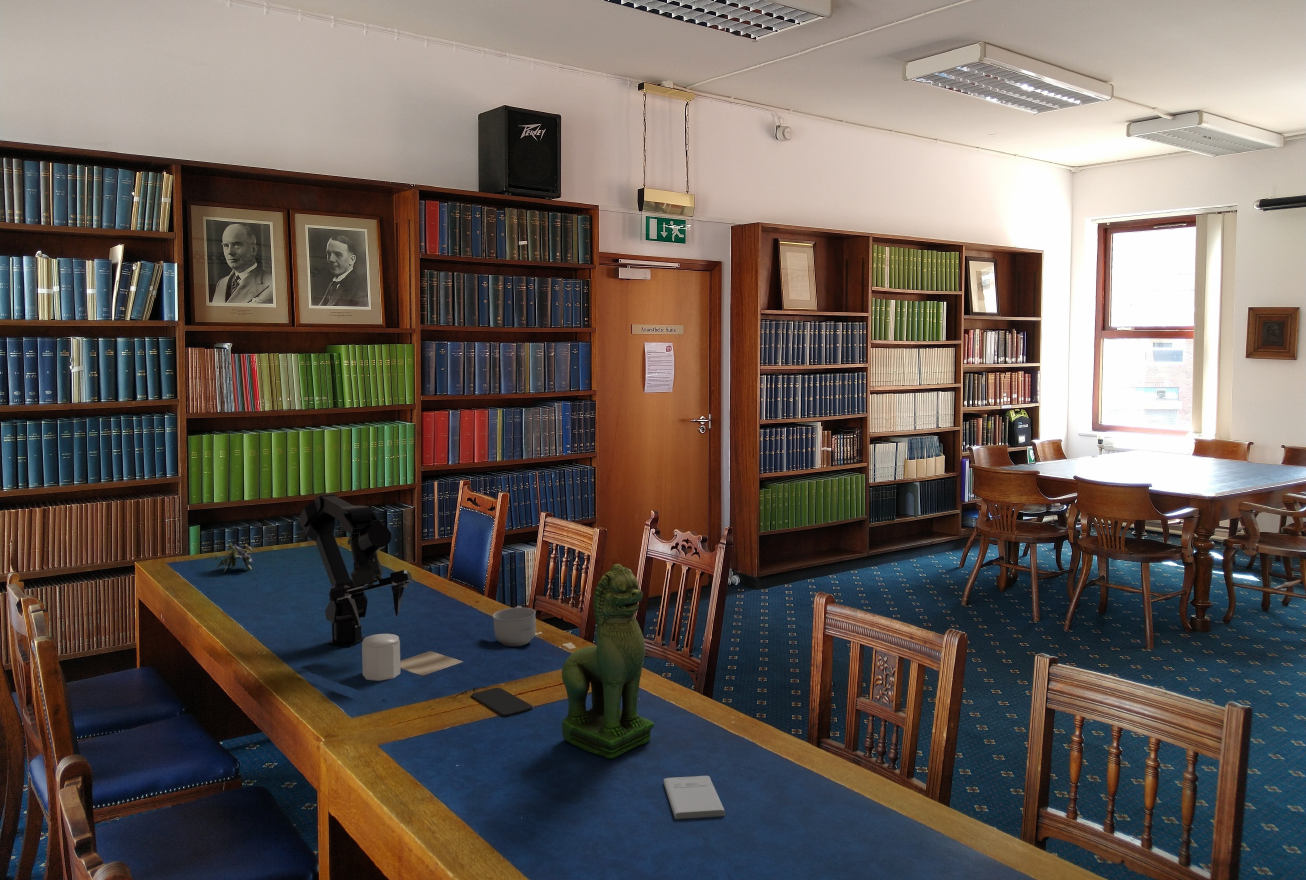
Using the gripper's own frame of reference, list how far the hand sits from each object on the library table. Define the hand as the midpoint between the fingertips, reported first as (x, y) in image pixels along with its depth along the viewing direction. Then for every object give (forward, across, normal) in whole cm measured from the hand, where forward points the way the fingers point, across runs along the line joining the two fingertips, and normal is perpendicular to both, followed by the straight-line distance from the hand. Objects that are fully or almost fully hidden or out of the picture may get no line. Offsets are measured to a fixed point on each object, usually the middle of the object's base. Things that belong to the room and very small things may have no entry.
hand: (378, 621), depth 221 cm
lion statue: (+38, +46, -41) cm, 72 cm away
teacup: (+12, +29, +17) cm, 36 cm away
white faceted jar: (+14, 0, -9) cm, 17 cm away
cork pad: (+14, +9, -2) cm, 17 cm away
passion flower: (-36, -61, +89) cm, 114 cm away
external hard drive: (+49, +58, -63) cm, 99 cm away
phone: (+26, +26, -22) cm, 43 cm away
